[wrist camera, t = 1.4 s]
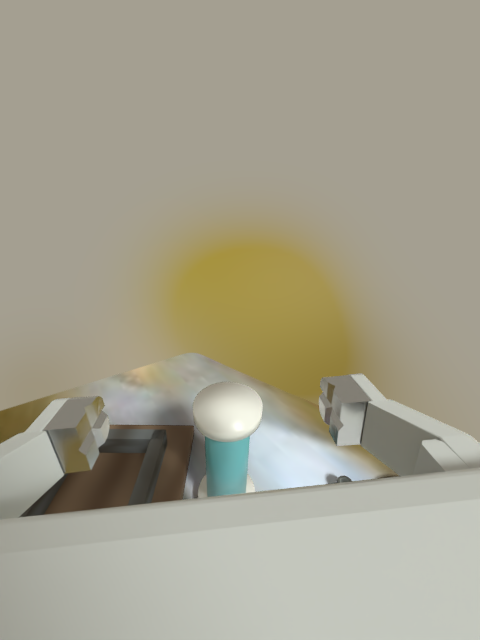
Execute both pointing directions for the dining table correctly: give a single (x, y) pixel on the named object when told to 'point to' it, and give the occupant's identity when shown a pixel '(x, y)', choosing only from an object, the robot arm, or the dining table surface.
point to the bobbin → (226, 436)
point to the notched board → (125, 471)
